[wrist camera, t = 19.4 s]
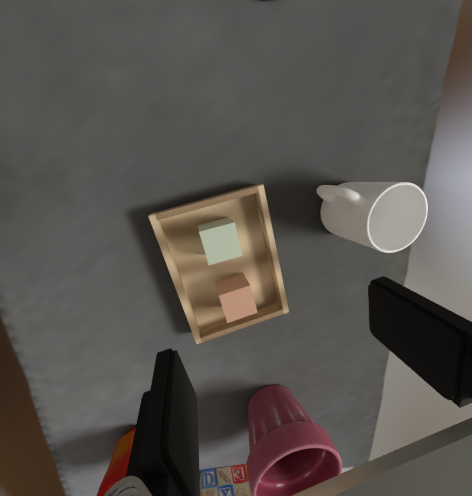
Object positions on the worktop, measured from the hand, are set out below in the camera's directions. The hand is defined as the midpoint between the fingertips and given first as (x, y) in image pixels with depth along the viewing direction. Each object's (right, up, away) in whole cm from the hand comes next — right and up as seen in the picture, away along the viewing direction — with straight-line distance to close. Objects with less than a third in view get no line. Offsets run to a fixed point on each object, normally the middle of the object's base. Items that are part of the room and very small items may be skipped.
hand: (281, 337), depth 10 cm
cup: (+13, +11, +25) cm, 31 cm away
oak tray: (-4, +2, +24) cm, 24 cm away
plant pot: (+4, -26, +34) cm, 43 cm away
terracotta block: (-3, -2, +25) cm, 25 cm away
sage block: (-5, +6, +22) cm, 23 cm away
